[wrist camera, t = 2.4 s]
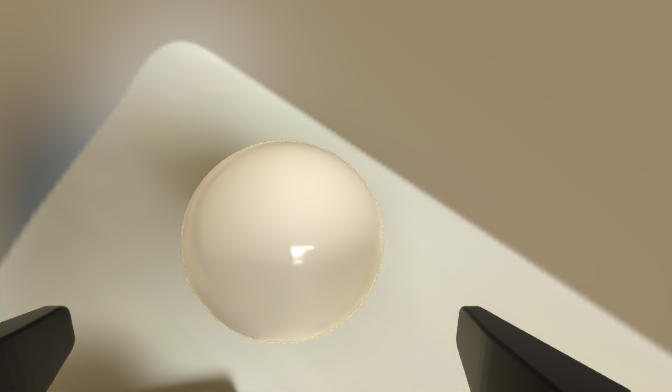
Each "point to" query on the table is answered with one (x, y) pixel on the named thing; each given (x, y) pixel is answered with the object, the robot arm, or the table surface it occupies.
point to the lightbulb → (282, 241)
